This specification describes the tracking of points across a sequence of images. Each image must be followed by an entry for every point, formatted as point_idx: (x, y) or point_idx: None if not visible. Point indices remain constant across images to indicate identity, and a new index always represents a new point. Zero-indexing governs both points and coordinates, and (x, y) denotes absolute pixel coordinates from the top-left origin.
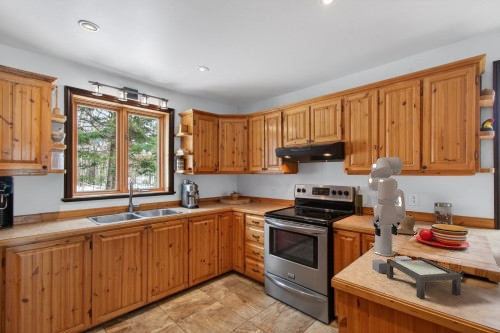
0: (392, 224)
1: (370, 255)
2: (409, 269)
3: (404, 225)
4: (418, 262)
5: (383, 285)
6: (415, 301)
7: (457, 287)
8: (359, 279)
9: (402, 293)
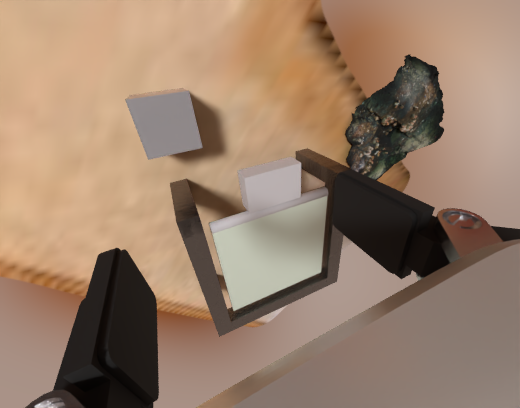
0: (454, 258)
1: None
2: (221, 297)
3: None
4: (303, 216)
5: (128, 246)
6: (187, 298)
7: None
8: (20, 220)
9: (172, 274)
